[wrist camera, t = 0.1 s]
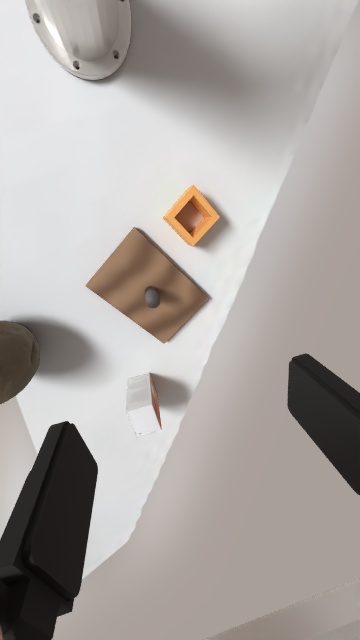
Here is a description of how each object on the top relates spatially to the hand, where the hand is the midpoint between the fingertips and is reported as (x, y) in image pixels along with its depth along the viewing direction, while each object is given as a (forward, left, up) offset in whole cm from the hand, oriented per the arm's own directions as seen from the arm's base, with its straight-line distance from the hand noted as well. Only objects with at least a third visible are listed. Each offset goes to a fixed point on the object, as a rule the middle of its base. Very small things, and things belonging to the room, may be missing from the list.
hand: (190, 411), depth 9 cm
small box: (+19, -24, -37) cm, 48 cm away
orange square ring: (0, +11, -37) cm, 39 cm away
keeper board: (+4, -4, -37) cm, 38 cm away
